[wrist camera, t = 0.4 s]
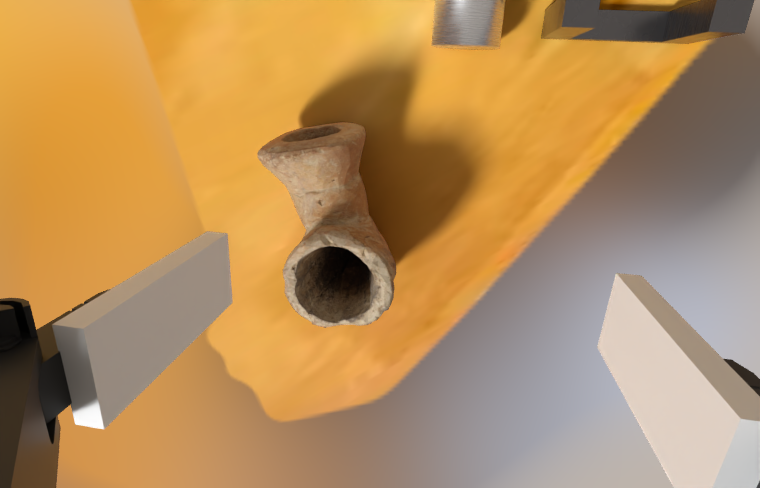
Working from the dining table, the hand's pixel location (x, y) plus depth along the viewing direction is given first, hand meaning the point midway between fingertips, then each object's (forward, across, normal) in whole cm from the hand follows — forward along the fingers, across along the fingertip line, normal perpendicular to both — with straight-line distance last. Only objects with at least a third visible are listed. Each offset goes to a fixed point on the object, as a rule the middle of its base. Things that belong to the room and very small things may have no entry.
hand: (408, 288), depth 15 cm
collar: (+26, +12, +11) cm, 31 cm away
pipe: (+26, -8, -5) cm, 27 cm away
